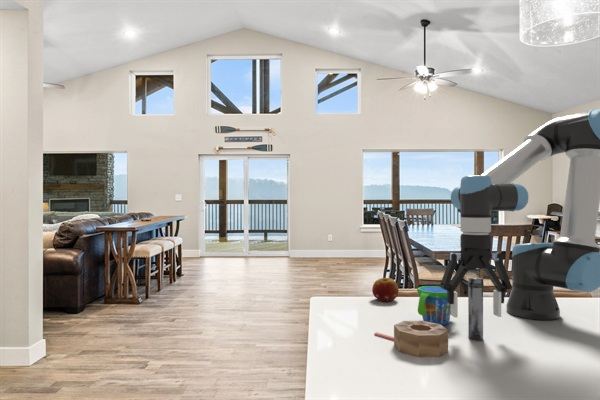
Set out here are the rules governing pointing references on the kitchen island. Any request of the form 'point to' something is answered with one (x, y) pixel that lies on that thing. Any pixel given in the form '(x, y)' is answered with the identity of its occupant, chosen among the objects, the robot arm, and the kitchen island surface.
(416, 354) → the bead
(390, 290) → the fruit
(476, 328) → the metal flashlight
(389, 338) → the pink stick
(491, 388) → the kitchen island surface
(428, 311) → the snack cup
